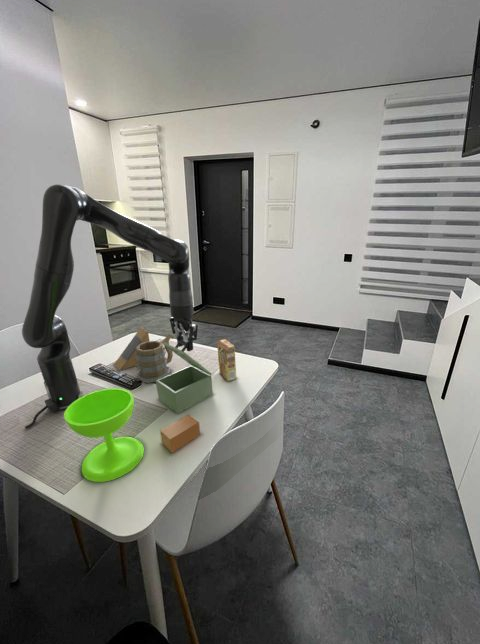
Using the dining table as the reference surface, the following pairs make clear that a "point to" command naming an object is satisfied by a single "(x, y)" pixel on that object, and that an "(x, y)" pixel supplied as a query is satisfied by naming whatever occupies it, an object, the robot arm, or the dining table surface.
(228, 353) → the candy box
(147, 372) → the tankard
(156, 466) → the dining table surface
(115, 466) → the wineglass
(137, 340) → the sandwich container
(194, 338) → the robot arm
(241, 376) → the dining table surface
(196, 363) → the lid
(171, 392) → the bin
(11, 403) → the dining table surface
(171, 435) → the orange-brown rectangular block
